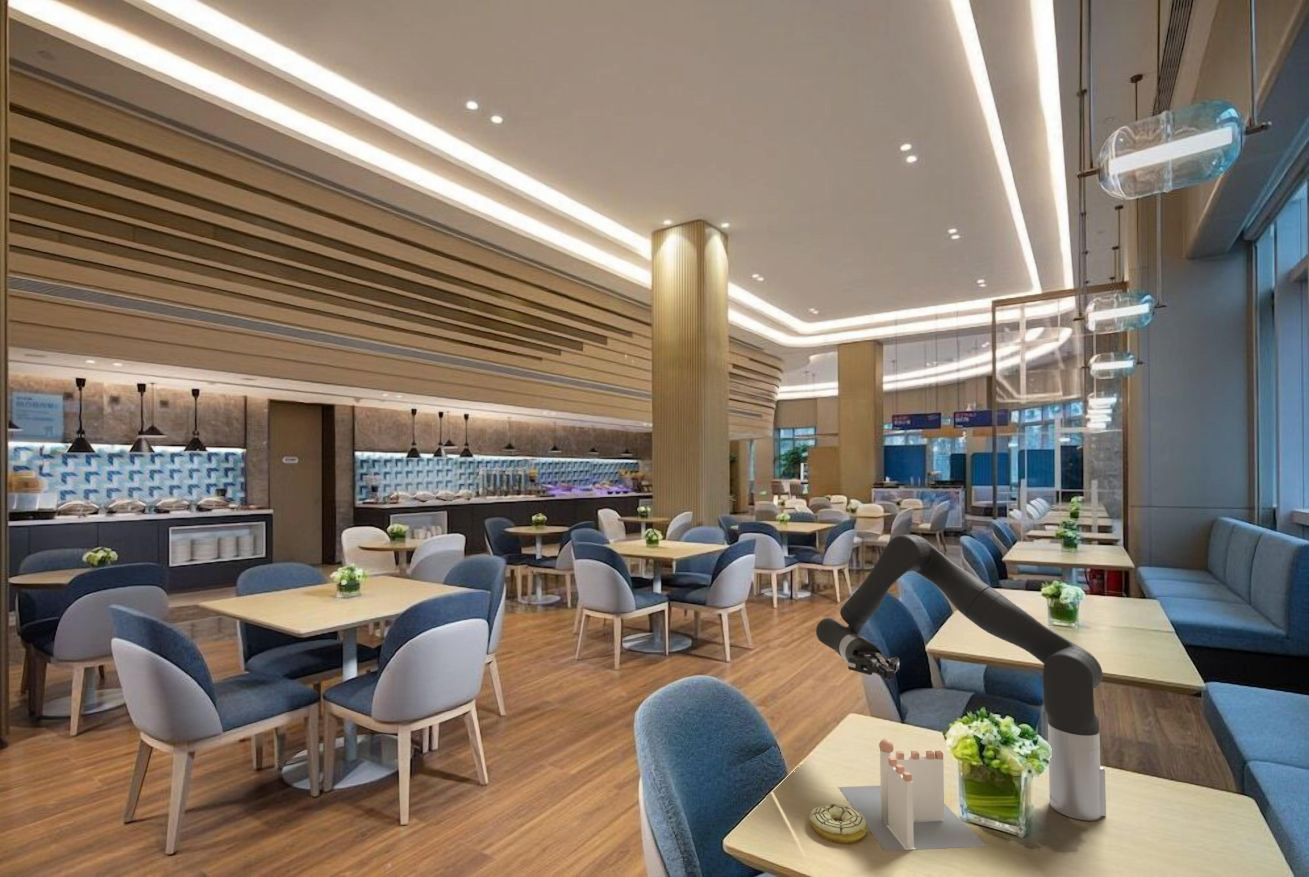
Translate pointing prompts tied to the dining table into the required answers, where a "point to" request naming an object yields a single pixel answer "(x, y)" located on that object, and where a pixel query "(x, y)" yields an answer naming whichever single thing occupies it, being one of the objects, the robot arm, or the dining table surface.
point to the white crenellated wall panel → (925, 783)
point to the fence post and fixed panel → (896, 794)
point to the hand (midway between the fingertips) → (890, 675)
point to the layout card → (925, 831)
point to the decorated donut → (838, 823)
